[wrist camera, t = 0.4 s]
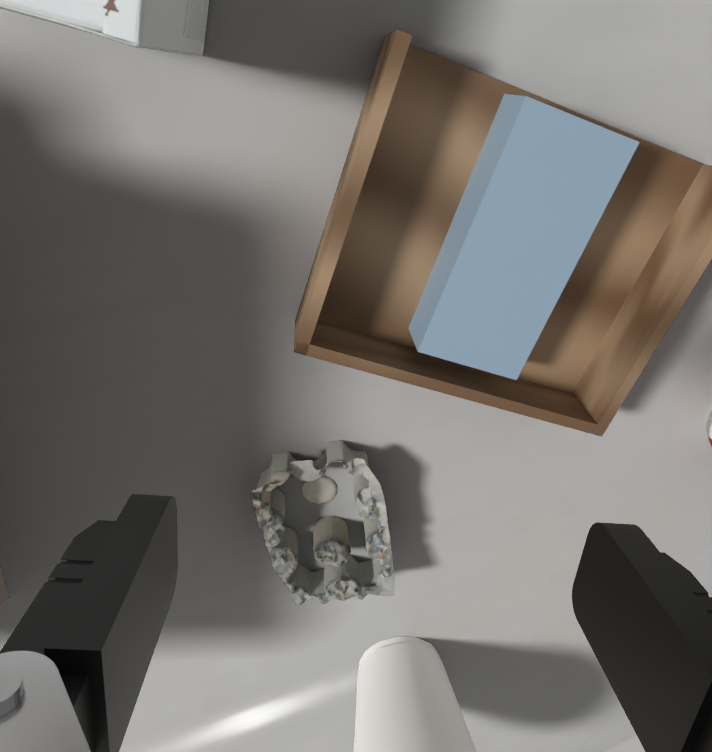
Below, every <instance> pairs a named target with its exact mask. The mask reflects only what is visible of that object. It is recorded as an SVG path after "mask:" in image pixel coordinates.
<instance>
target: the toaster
mask: <svg viewBox="0 0 712 752" xmlns="http://www.w3.org/2000/svg"><path fill="white" fill-rule="evenodd" d="M8 598H10V596H9V593H8V589H7V586H6V583H5V580H4V576H3V573H2V570H1V566H0V603H2V602H3V601H5V600H6V599H8Z"/></svg>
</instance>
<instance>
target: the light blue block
mask: <svg viewBox="0 0 712 752" xmlns="http://www.w3.org/2000/svg"><path fill="white" fill-rule="evenodd" d="M639 143H640V142H638V141H636V140H633V139H631V138H628V137H626V136H623V135H621V134H618V133H616V132H613V131H611V130H608V129H606V128H604V127H601V126H599V125H596V124H594V123H591V122H589V121H586V120H584V119H581V118H579V117H577V116H574V115H572V114H569V113H567V112H564V111H562V110H559V109H557V108H554V107H552V106H550V105H547V104H545V103H542V102H540V101H537V100H535V99H532V98H530V97H527V96H521V95H510V94H504V96H503V98H502V100H501V103H500V105H499V108H498V110H497V113H496V115H495V118H494V120H493V123H492V125H491V127H490V130H489V132H488V135H487V137H486V140H485V142H484V145H483V147H482V149H481V152H480V154H479V157H478V159H477V162H476V164H475V167H474V169H473V171H472V174H471V176H470V179H469V181H468V184H467V186H466V189H465V191H464V193H463V196H462V198H461V201H460V203H459V206H458V208H457V211H456V213H455V215H454V218H453V220H452V223H451V225H450V228H449V230H448V233H447V235H446V237H445V240H444V242H443V245H442V247H441V250H440V252H439V255H438V257H437V260H436V262H435V264H434V267H433V269H432V272H431V274H430V277H429V279H428V282H427V284H426V286H425V289H424V291H423V294H422V296H421V299H420V301H419V304H418V306H417V308H416V311H415V313H414V316H413V318H412V321H411V323H410V326H409V328H408V329H409V331H410V334H411V336H412V339H413V341H414V344H415V346H416V349H417V351H418V352H420V353H424V354H427V355H431V356H434V357H438V358H441V359H445V360H448V361H451V362H455V363H458V364H462V365H465V366H469V367H472V368H476V369H479V370H483V371H486V372H490V373H493V374H497V375H500V376H504V377H507V378H510V379H514V380H517V378H518V376H519V374H520V373H521V371H522V369H523V367H524V365H525V363H526V361H527V359H528V357H529V355H530V353H531V351H532V349H533V347H534V345H535V344H536V342H537V340H538V338H539V336H540V334H541V332H542V330H543V328H544V326H545V324H546V322H547V320H548V318H549V316H550V315H551V313H552V311H553V309H554V307H555V305H556V303H557V301H558V299H559V297H560V295H561V293H562V291H563V289H564V287H565V286H566V284H567V282H568V280H569V278H570V276H571V274H572V272H573V270H574V268H575V266H576V264H577V262H578V260H579V259H580V257H581V255H582V253H583V251H584V249H585V247H586V245H587V243H588V241H589V239H590V237H591V235H592V233H593V231H594V230H595V228H596V226H597V224H598V222H599V220H600V218H601V216H602V214H603V212H604V210H605V208H606V206H607V204H608V202H609V201H610V199H611V197H612V195H613V193H614V191H615V189H616V187H617V185H618V183H619V181H620V179H621V177H622V175H623V173H624V172H625V170H626V168H627V166H628V164H629V162H630V160H631V158H632V156H633V154H634V152H635V150H636V148H637V146H638V145H639Z"/></svg>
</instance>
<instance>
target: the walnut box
mask: <svg viewBox="0 0 712 752" xmlns="http://www.w3.org/2000/svg"><path fill="white" fill-rule="evenodd" d="M411 39H412V35H410V34H407V33H405V32H402V31H400V30H396V31H394V32H392V33H390V34H388V35H386V36H385V38H384V41H383V45H382V48H381V51H380V54H379V57H378V60H377V64H376V67H375V70H374V73H373V76H372V79H371V83H370V86H369V89H368V92H367V95H366V98H365V102H364V105H363V108H362V111H361V114H360V117H359V121H358V124H357V127H356V130H355V133H354V136H353V140H352V143H351V146H350V149H349V152H348V155H347V159H346V162H345V165H344V168H343V171H342V174H341V178H340V181H339V184H338V187H337V190H336V193H335V197H334V200H333V203H332V206H331V209H330V212H329V216H328V219H327V222H326V225H325V228H324V231H323V235H322V238H321V241H320V244H319V247H318V250H317V254H316V257H315V260H314V263H313V266H312V269H311V273H310V276H309V279H308V282H307V285H306V288H305V292H304V295H303V298H302V301H301V304H300V307H299V311H298V314H297V317H296V320H295V338H294V352H296V353H300V354H303V355H307V356H311V357H314V358H318V359H321V360H325V361H329V362H332V363H336V364H340V365H343V366H347V367H351V368H354V369H358V370H362V371H365V372H369V373H372V374H376V375H380V376H383V377H387V378H391V379H394V380H398V381H402V382H405V383H409V384H413V385H416V386H420V387H423V388H427V389H431V390H434V391H438V392H442V393H445V394H449V395H453V396H456V397H460V398H464V399H467V400H471V401H474V402H478V403H482V404H485V405H489V406H493V407H496V408H500V409H504V410H507V411H511V412H515V413H518V414H522V415H525V416H529V417H533V418H536V419H540V420H544V421H547V422H551V423H555V424H558V425H562V426H565V427H569V428H573V429H576V430H580V431H584V432H587V433H591V434H595V435H598V436H602V435H603V434H604V432H605V430H606V429H607V427H608V426H609V424H610V422H611V421H612V419H613V418H614V416H615V414H616V413H617V411H618V409H619V408H620V406H621V405H622V403H623V401H624V400H625V398H626V396H627V395H628V393H629V392H630V390H631V388H632V387H633V385H634V384H635V382H636V380H637V379H638V377H639V375H640V374H641V372H642V371H643V369H644V367H645V366H646V364H647V363H648V361H649V359H650V358H651V356H652V354H653V353H654V351H655V350H656V348H657V346H658V345H659V343H660V342H661V340H662V338H663V337H664V335H665V333H666V332H667V330H668V329H669V327H670V325H671V324H672V322H673V321H674V319H675V317H676V316H677V314H678V312H679V311H680V309H681V308H682V306H683V304H684V303H685V301H686V299H687V298H688V296H689V295H690V293H691V291H692V290H693V288H694V287H695V285H696V283H697V282H698V280H699V278H700V277H701V275H702V274H703V272H704V270H705V269H706V267H707V266H708V264H709V262H710V261H711V259H712V166H709V165H704V164H701V163H699V162H696V161H694V160H691V159H689V158H687V157H684V156H682V155H679V154H677V153H674V152H672V151H669V150H667V149H665V148H662V147H660V146H657V145H655V144H652V143H650V142H647V141H645V140H643V139H640V138H638V137H635V136H633V135H630V134H628V133H625V132H623V131H621V130H618V129H616V128H613V127H611V126H608V125H606V124H603V123H601V122H598V121H596V120H594V119H591V118H589V117H586V116H584V115H581V114H579V113H576V112H574V111H572V110H569V109H567V108H564V107H562V106H559V105H557V104H554V103H552V102H550V101H547V100H545V99H542V98H540V97H537V96H535V95H532V94H530V93H528V92H525V91H523V90H520V89H518V88H515V87H513V86H510V85H508V84H505V83H503V82H501V81H498V80H496V79H493V78H491V77H488V76H486V75H483V74H481V73H479V72H476V71H474V70H471V69H469V68H466V67H464V66H461V65H459V64H457V63H454V62H452V61H449V60H447V59H444V58H442V57H439V56H437V55H435V54H432V53H430V52H427V51H425V50H422V49H420V48H417V47H415V46H412V45H410V42H411ZM504 94H510V95H521V96H527V97H530V98H532V99H535V100H537V101H540V102H542V103H545V104H547V105H550V106H552V107H554V108H557V109H559V110H562V111H564V112H567V113H569V114H572V115H574V116H577V117H579V118H581V119H584V120H586V121H589V122H591V123H594V124H596V125H599V126H601V127H604V128H606V129H608V130H611V131H613V132H616V133H618V134H621V135H623V136H626V137H628V138H631V139H633V140H636V141H638V142H640V143H639V145H638V146H637V148H636V150H635V152H634V154H633V156H632V158H631V160H630V162H629V164H628V166H627V168H626V170H625V172H624V173H623V175H622V177H621V179H620V181H619V183H618V185H617V187H616V189H615V191H614V193H613V195H612V197H611V199H610V201H609V202H608V204H607V206H606V208H605V210H604V212H603V214H602V216H601V218H600V220H599V222H598V224H597V226H596V228H595V230H594V231H593V233H592V235H591V237H590V239H589V241H588V243H587V245H586V247H585V249H584V251H583V253H582V255H581V257H580V259H579V260H578V262H577V264H576V266H575V268H574V270H573V272H572V274H571V276H570V278H569V280H568V282H567V284H566V286H565V287H564V289H563V291H562V293H561V295H560V297H559V299H558V301H557V303H556V305H555V307H554V309H553V311H552V313H551V315H550V316H549V318H548V320H547V322H546V324H545V326H544V328H543V330H542V332H541V334H540V336H539V338H538V340H537V342H536V344H535V345H534V347H533V349H532V351H531V353H530V355H529V357H528V359H527V361H526V363H525V365H524V367H523V369H522V371H521V373H520V374H519V376H518V378H517V380H514V379H510V378H507V377H504V376H500V375H497V374H493V373H490V372H486V371H483V370H479V369H476V368H472V367H469V366H465V365H462V364H458V363H455V362H451V361H448V360H445V359H441V358H438V357H434V356H431V355H427V354H424V353H420V352H418V351H417V349H416V346H415V344H414V341H413V339H412V336H411V334H410V331H409V329H408V328H409V326H410V323H411V321H412V318H413V316H414V313H415V311H416V308H417V306H418V304H419V301H420V299H421V296H422V294H423V291H424V289H425V286H426V284H427V282H428V279H429V277H430V274H431V272H432V269H433V267H434V264H435V262H436V260H437V257H438V255H439V252H440V250H441V247H442V245H443V242H444V240H445V237H446V235H447V233H448V230H449V228H450V225H451V223H452V220H453V218H454V215H455V213H456V211H457V208H458V206H459V203H460V201H461V198H462V196H463V193H464V191H465V189H466V186H467V184H468V181H469V179H470V176H471V174H472V171H473V169H474V167H475V164H476V162H477V159H478V157H479V154H480V152H481V149H482V147H483V145H484V142H485V140H486V137H487V135H488V132H489V130H490V127H491V125H492V123H493V120H494V118H495V115H496V113H497V110H498V108H499V105H500V103H501V100H502V98H503V96H504Z"/></svg>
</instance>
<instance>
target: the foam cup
mask: <svg viewBox="0 0 712 752" xmlns="http://www.w3.org/2000/svg"><path fill="white" fill-rule="evenodd" d="M354 752H476V749H475V747H474V744H473V741H472V739H471V736H470V733H469V731H468V728H467V726H466V723H465V720H464V718H463V715H462V712H461V710H460V707H459V705H458V702H457V699H456V697H455V694H454V691H453V689H452V686H451V684H450V681H449V678H448V676H447V673H446V670H445V668H444V665H443V663H442V660H441V659H440V656H439V653H438V652H437V651H436V649H435V648H434V647H433V645H432V644H431V643H429V642H426V641H424V640H422V639H419V638H417V637H401V636H397V637H394V638H390V639H386V640H382V641H379V642H378V643H376V644H375V645H373V646H372V647H370V648H369V649H367V650H366V651H365V653H364V655H363V656H362V658H361V660H360V661H359V670H358V684H357V703H356V722H355V740H354Z"/></svg>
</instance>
